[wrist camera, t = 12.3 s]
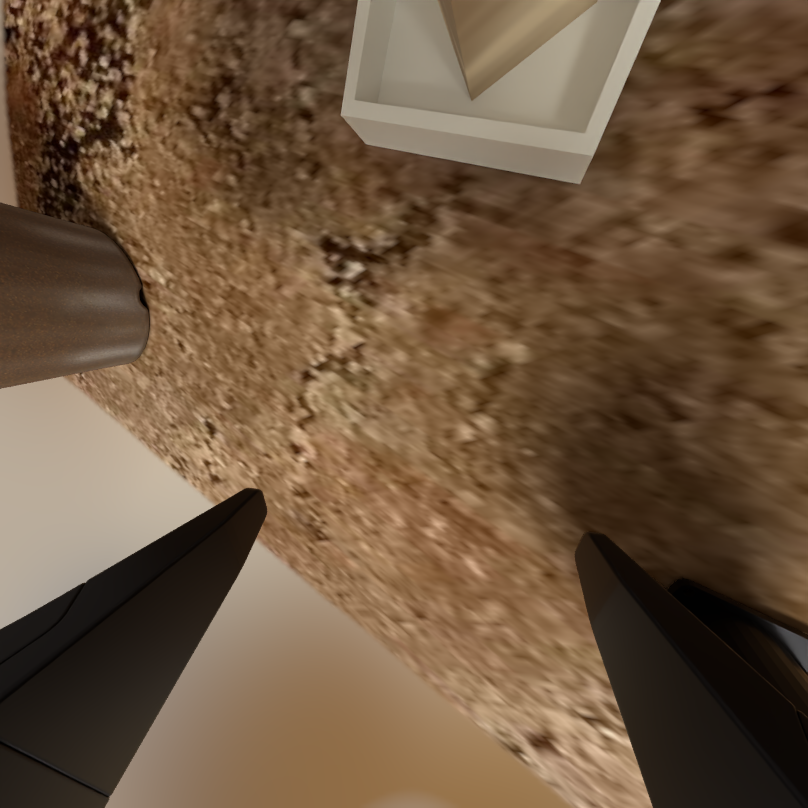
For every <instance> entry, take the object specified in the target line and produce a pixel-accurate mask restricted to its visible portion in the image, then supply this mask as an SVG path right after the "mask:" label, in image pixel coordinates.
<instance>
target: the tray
mask: <svg viewBox="0 0 808 808" xmlns="http://www.w3.org/2000/svg"><path fill="white" fill-rule="evenodd" d="M660 1H661V0H598V1H597V3H595V4H594V5H593V6H592V7H590V8H589V9H588V10H586V11H585V12H584V13H583V14H581V15H580V16H579V17H578V18H576V19H575V20H574V21H573V22H571V23H570V24H569V25H567V26H566V27H565V28H564V29H562V30H561V31H560V32H559V33H557V34H556V35H555V36H554V37H552V38H551V39H550V40H548V41H547V42H546V43H545V44H543V45H542V46H541V47H540V48H538V49H537V50H536V51H535V52H533V53H532V54H531V55H530V56H528V57H527V58H526V59H524V60H523V61H522V62H521V63H519V64H518V65H517V66H516V67H514V68H513V69H512V70H511V71H509V72H508V73H507V74H505V75H504V76H503V77H502V78H500V79H499V80H498V81H497V82H495V83H494V84H493V85H492V86H490V87H489V88H488V89H487V90H485V91H484V92H483V93H481V94H480V95H479V96H478V97H476V98H475V99H474V100H473V101H471V98H470V95H469V92H468V89H467V86H466V83H465V81H464V78H463V75H462V72H461V69H460V66H459V63H458V60H457V57H456V54H455V51H454V48H453V45H452V42H451V39H450V36H449V33H448V30H447V27H446V24H445V21H444V18H443V15H442V12H441V9H440V6H439V3H438V1H437V0H358V4H357V11H356V17H355V24H354V31H353V37H352V44H351V50H350V57H349V64H348V70H347V77H346V84H345V90H344V97H343V103H342V110H341V116H342V117H343V118H344V119H345V121H346V122H347V123H348V124H349V125H350V126H351V128H352V129H353V130H354V131H355V132H356V133H357V134H358V136H359V137H360V138H361V139H362V140H363V141H364V143H365V144H367V145H372V146H377V147H383V148H388V149H393V150H399V151H404V152H409V153H415V154H420V155H426V156H431V157H436V158H442V159H447V160H452V161H458V162H463V163H468V164H474V165H479V166H484V167H490V168H495V169H500V170H506V171H511V172H517V173H522V174H527V175H533V176H538V177H543V178H549V179H554V180H559V181H565V182H570V183H575V184H580V183H581V181H582V179H583V177H584V175H585V172H586V170H587V168H588V166H589V164H590V162H591V160H592V158H593V156H594V153H595V151H596V149H597V146H598V144H599V142H600V139H601V137H602V135H603V132H604V130H605V128H606V126H607V123H608V121H609V119H610V116H611V114H612V112H613V109H614V107H615V105H616V102H617V100H618V98H619V96H620V93H621V91H622V89H623V86H624V84H625V82H626V79H627V77H628V75H629V72H630V70H631V68H632V66H633V63H634V61H635V59H636V56H637V54H638V52H639V49H640V47H641V45H642V42H643V40H644V38H645V36H646V33H647V31H648V29H649V26H650V24H651V22H652V19H653V17H654V15H655V12H656V10H657V8H658V6H659V3H660Z"/></svg>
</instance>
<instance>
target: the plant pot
mask: <svg viewBox="0 0 808 808" xmlns="http://www.w3.org/2000/svg"><path fill="white" fill-rule="evenodd" d="M141 288H142V285H141V283H140V280H139V278H138V276H137V274H136V272H135V270H134V268H133V267H132V265H131V263H130V262H129V260H128V258H127V257H126V255H125V254H124V253H123V251H122V250H121V249H120V248H119V247H118V246H117V244H116V243H115V242H114V241H113V240H111V239H110V238H109V237H108V236H107V235H105V234H104V233H102V232H100V231H98V230H96V229H94V228H91V227H88V226H84V225H80V224H76V223H72V222H69V221H65V220H61V219H58V218H54V217H50V216H47V215H43V214H39V213H36V212H32V211H29V210H25V209H21V208H18V207H14V206H11V205H7V204H3V203H0V389H1V388H6V387H11V386H16V385H21V384H26V383H31V382H36V381H41V380H46V379H51V378H56V377H61V376H66V375H72V374H77V373H82V372H87V371H92V370H97V369H102V368H107V367H113V366H119V365H124V364H129V363H131V362H134V361H135V360H136V359H138V358H139V357H140V355H141V354H142V352H143V350H144V348H145V346H146V343H147V339H148V333H149V313H148V310H147V308H146V307H145V306H143V304H142V303H141V301H140V298H139V291H140V289H141Z"/></svg>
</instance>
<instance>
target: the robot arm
mask: <svg viewBox="0 0 808 808" xmlns="http://www.w3.org/2000/svg"><path fill="white" fill-rule="evenodd" d="M266 515H267V506H266V503H265V499H264V495H263V492H262V491H261V490H260V489H255V488H246V489H244V490H242V491H240V492H238V493H237V494H235V495H233V496H231V497H230V498H228V499H226V500H225V501H223V502H221V503H219V504H218V505H216V506H214V507H213V508H211V509H209V510H208V511H206V512H204V513H202V514H201V515H199V516H197V517H196V518H194V519H192V520H190V521H189V522H187V523H185V524H183V525H182V526H180V527H178V528H177V529H175V530H173V531H171V532H170V533H168V534H166V535H165V536H163V537H161V538H159V539H158V540H156V541H154V542H152V543H151V544H149V545H147V546H146V547H144V548H142V549H141V550H139V551H137V552H135V553H134V554H132V555H130V556H128V557H127V558H125V559H123V560H122V561H120V562H118V563H116V564H115V565H113V566H111V567H110V568H108V569H106V570H104V571H103V572H101V573H99V574H97V575H96V576H94V577H92V578H91V579H89V580H88V581H87V582H86V583H82V584H80V585H78V586H77V587H75V588H73V589H72V590H70V591H68V592H66V593H65V594H63V595H62V596H60V597H58V598H56V599H54V600H52V601H51V602H49V603H47V604H46V605H44V606H42V607H40V608H38V609H37V610H35V611H33V612H31V613H30V614H28V615H26V616H24V617H22V618H21V619H19V620H17V621H15V622H13V623H11V624H9V625H8V626H6V627H4V628H2V629H0V808H105V806H106V804H107V802H108V800H109V796H110V795H112V793H113V791H114V790H115V788H116V786H117V784H118V783H119V781H120V779H121V778H122V776H123V774H124V772H125V771H126V769H127V767H128V765H129V764H130V762H131V760H132V758H133V757H134V755H135V753H136V752H137V750H138V748H139V746H140V745H141V743H142V741H143V739H144V738H145V736H146V734H147V732H148V731H149V729H150V727H151V726H152V724H153V722H154V720H155V719H156V717H157V715H158V713H159V712H160V710H161V708H162V706H163V705H164V703H165V701H166V700H167V698H168V696H169V694H170V693H171V691H172V689H173V687H174V686H175V684H176V682H177V680H178V679H179V677H180V675H181V673H182V672H183V670H184V668H185V667H186V665H187V663H188V661H189V660H190V658H191V656H192V654H193V653H194V651H195V649H196V647H197V646H198V644H199V642H200V641H201V638H202V637H203V635H204V633H205V632H206V630H207V628H208V627H209V625H210V623H211V622H212V620H213V618H214V616H215V615H216V613H217V611H218V609H219V608H220V606H221V604H222V602H223V601H224V599H225V597H226V596H227V594H228V592H229V590H230V589H231V587H232V585H233V583H234V582H235V580H236V578H237V576H238V574H239V573H240V570H241V569H242V567H243V565H244V563H245V561H246V559H247V557H248V554H249V552H250V550H251V548H252V546H253V544H254V542H255V539H256V537H257V535H258V533H259V531H260V529H261V526H262V524H263V522H264V520H265V518H266ZM575 562H576V566H577V570H578V574H579V578H580V583H581V587H582V591H583V595H584V599H585V603H586V608H587V612H588V616H589V620H590V623H591V627H592V630H593V633H594V636H595V639H596V642H597V645H598V648H599V651H600V654H601V657H602V660H603V663H604V666H605V669H606V671H607V674H608V677H609V680H610V683H611V686H612V689H613V692H614V695H615V698H616V701H617V704H618V707H619V710H620V712H621V715H622V718H623V721H624V724H625V727H626V730H627V733H628V736H629V739H630V742H631V745H632V748H633V751H634V753H635V756H636V759H637V762H638V765H639V768H640V771H641V774H642V777H643V780H644V783H645V786H646V789H647V792H648V794H649V797H650V800H651V803H652V806H653V808H808V635H807V634H805V633H803V632H800V631H798V630H796V629H794V628H792V627H790V626H787V625H785V624H783V623H781V622H779V621H777V620H775V619H772V618H770V617H768V616H766V615H764V614H762V613H760V612H757V611H755V610H753V609H751V608H749V607H747V606H745V605H742V604H740V603H738V602H736V601H734V600H732V599H729V598H727V597H725V596H723V595H721V594H719V593H717V592H714V591H712V590H710V589H708V588H706V587H704V586H702V585H699V584H697V583H695V582H693V581H691V580H687V579H680V580H677V581H676V582H675V583H674V584H673V585H672V586H671V587H670V588H669V589H668V590H666V589H665V588H663V587H662V586H661V585H660V584H659V583H658V582H657V581H656V580H655V579H653V578H652V577H651V576H650V575H649V574H648V573H647V572H646V571H645V570H644V569H642V568H641V567H640V566H639V565H638V564H637V563H636V562H635V561H634V560H632V559H631V558H630V557H629V556H628V555H627V554H626V553H625V552H624V551H622V550H621V549H620V548H619V547H618V546H617V545H616V544H615V543H614V542H612V541H611V540H610V539H609V538H608V537H607V536H606V535H604V534H602V533H595V532H586V533H584V534H583V536H582V538H581V540H580V542H579V544H578V547H577V549H576V551H575ZM686 589H690V590H686ZM685 590H686V591H685Z"/></svg>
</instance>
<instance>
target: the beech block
mask: <svg viewBox="0 0 808 808" xmlns="http://www.w3.org/2000/svg"><path fill="white" fill-rule="evenodd" d="M437 1H438V3H439V6H440V9H441V12H442V15H443V18H444V21H445V24H446V27H447V30H448V33H449V36H450V39H451V42H452V45H453V48H454V51H455V54H456V57H457V60H458V63H459V66H460V69H461V72H462V75H463V78H464V81H465V83H466V86H467V89H468V92H469V95H470V98H471V101H473V100H474V99H475V98H476V97H478V96H479V95H480V94H481V93H483V92H484V91H485V90H487V89H488V88H489V87H490V86H492V85H493V84H494V83H495V82H497V81H498V80H499V79H500V78H502V77H503V76H504V75H505V74H507V73H508V72H509V71H511V70H512V69H513V68H514V67H516V66H517V65H518V64H519V63H521V62H522V61H523V60H524V59H526V58H527V57H528V56H530V55H531V54H532V53H533V52H535V51H536V50H537V49H538V48H540V47H541V46H542V45H543V44H545V43H546V42H547V41H548V40H550V39H551V38H552V37H554V36H555V35H556V34H557V33H559V32H560V31H561V30H562V29H564V28H565V27H566V26H567V25H569V24H570V23H571V22H573V21H574V20H575V19H576V18H578V17H579V16H580V15H581V14H583V13H584V12H585V11H586V10H588V9H589V8H590V7H592V6H593V5H594V4H595V3H597V1H598V0H437Z"/></svg>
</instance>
